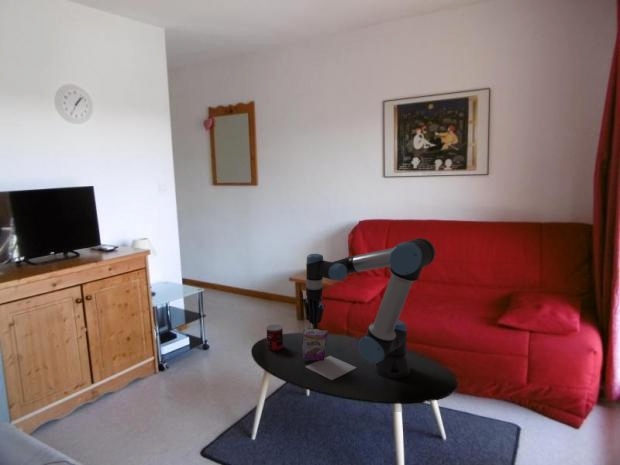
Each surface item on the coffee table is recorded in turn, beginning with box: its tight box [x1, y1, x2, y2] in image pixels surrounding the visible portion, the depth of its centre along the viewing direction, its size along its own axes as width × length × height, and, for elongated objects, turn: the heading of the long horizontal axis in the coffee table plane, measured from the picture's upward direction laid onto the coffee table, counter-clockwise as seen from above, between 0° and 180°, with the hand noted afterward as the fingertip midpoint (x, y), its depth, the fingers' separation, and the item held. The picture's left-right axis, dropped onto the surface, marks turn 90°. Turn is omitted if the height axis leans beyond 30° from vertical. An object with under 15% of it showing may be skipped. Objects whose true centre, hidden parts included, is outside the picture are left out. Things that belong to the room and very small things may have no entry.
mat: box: [304, 355, 357, 381], centre depth 199 cm, size 17×16×1 cm
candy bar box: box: [300, 327, 329, 361], centre depth 203 cm, size 11×5×16 cm, turn 85°
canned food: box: [266, 324, 284, 352], centre depth 221 cm, size 8×8×11 cm
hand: (313, 335), depth 205 cm, fingers closed
